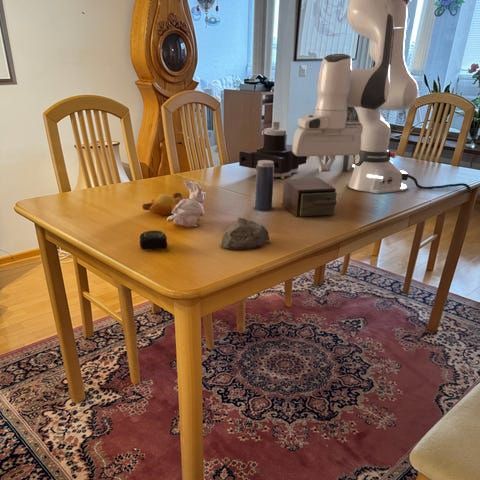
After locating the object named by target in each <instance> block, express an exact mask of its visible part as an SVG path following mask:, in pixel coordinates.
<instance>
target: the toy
mask: <svg viewBox="0 0 480 480" xmlns="http://www.w3.org/2000/svg"><path fill="white" fill-rule="evenodd" d="M181 200H183V195H182V193H180V192H175V193H173V194H172V195H169V194H167V193H161V194H158V195H156V196H155V197H154V198H153V199H151V201H150V202H148V203H142V206H141V207H142V209H143V210H144V211H149V212H150V213H152V214H157V215H161V216H172V215H173V214H172V211H173V210H174V208H175V206H176V205H177V204H178V203H179V202H180V201H181Z"/></svg>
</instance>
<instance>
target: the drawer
mask: <svg viewBox="0 0 480 480" xmlns="http://www.w3.org/2000/svg"><path fill="white" fill-rule="evenodd" d="M337 195H338V193H337V192H331V191H317V192H301V193H300V205H299V212H300V216H301V217H312V216H311V215H318V216H330V215H329V214H333V215H335V209H336V205H337V204H338V202H337Z"/></svg>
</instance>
